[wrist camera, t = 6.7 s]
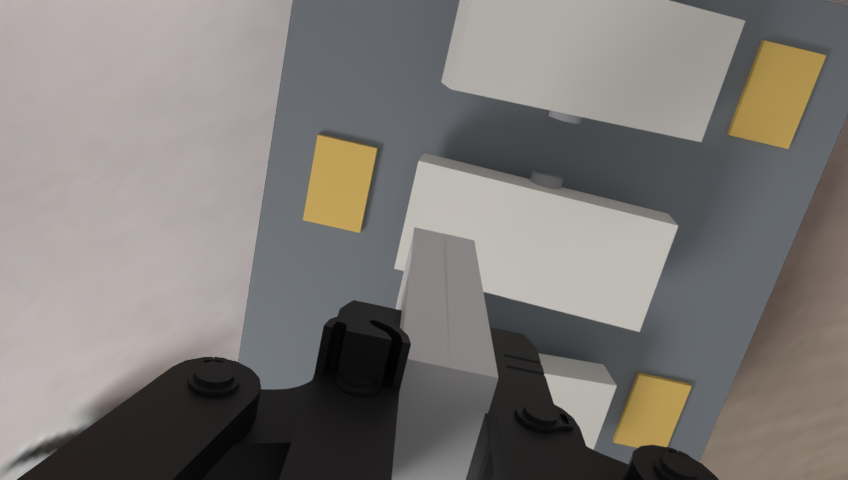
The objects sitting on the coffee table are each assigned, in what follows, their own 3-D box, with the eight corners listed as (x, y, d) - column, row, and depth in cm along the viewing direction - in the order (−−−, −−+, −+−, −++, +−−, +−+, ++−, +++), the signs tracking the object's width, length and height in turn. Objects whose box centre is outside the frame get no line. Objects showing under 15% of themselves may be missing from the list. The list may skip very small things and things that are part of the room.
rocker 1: (400, 259, 23) (392, 277, 21) (427, 142, 22) (420, 151, 20) (627, 318, 23) (636, 340, 21) (669, 202, 21) (681, 216, 20)
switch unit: (266, 334, 30) (231, 396, 25) (337, -98, 24) (310, -127, 19) (652, 417, 31) (692, 493, 26) (809, 17, 25) (898, 17, 20)
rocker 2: (436, 90, 20) (448, 100, 18) (470, -59, 19) (486, -62, 17) (669, 139, 22) (697, 151, 20) (715, 7, 21) (749, 9, 19)
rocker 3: (361, 417, 24) (360, 446, 23) (385, 315, 23) (385, 338, 21) (569, 449, 25) (582, 479, 24) (603, 352, 24) (619, 378, 22)
